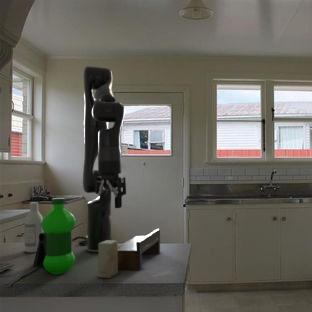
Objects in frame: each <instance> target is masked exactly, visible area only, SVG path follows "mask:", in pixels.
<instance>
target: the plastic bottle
mask: <svg viewBox="0 0 312 312" xmlns="http://www.w3.org/2000/svg"><path fill="white" fill-rule="evenodd" d="M65 204H66V197H52V198H51V205H53V209H51V210H50V211H49V212H48V213H47V214H46V215H45V216H44V217H43V221H42V230H43V231H44V232H45V233H46V257H45V259H44V261H43V265H44V267H43V268H44V269H45V270H46V271H47V272H48V273H50V274H52V275H62V274H66V273H67V272H68V271H70V269H71V268H73V266H74V264H75V260H76V258H75V257H76V256H75V254H74V252H73V248H72V247H73V245H72V244H73V243H72V242H73V241H72V240H73V239H72V237H73V236H72V231H73V230H74V229H75V227H76V218H75V215H74V214H73V213H72V212H70V211H69V210H68V209H66V208H65Z"/></svg>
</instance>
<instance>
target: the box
mask: <svg viewBox="0 0 312 312" xmlns="http://www.w3.org/2000/svg"><path fill="white" fill-rule="evenodd" d="M118 244H119V243H118V240H113V239H111V240H106V241H103V242H101V243H99V244H98V253H97V254H98V255H97V256H98V259H97V260H98V264H97V265H98V278H105V279H111V278H112V277H115V276H116V275H117V274H118V273H119V272H118V271H119V269H118V247H119V245H118Z"/></svg>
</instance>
